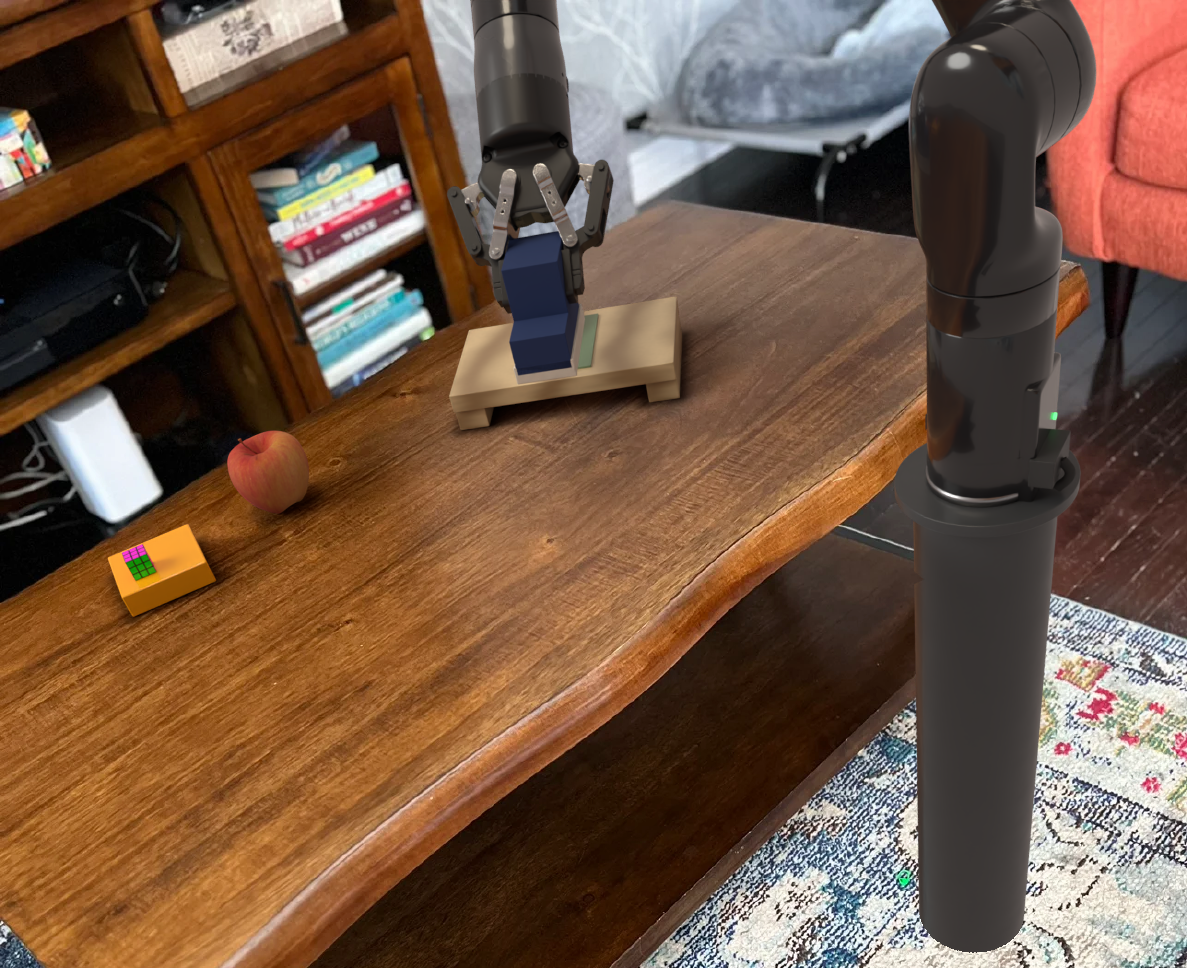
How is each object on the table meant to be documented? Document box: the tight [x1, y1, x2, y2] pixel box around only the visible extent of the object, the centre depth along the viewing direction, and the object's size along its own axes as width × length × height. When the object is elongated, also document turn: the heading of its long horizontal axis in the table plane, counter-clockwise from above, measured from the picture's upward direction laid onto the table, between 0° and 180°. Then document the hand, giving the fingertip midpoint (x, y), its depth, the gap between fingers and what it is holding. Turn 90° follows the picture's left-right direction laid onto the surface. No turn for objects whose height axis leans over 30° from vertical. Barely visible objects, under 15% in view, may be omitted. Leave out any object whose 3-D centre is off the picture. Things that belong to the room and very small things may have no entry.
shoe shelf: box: [448, 296, 683, 431], centre depth 123 cm, size 22×14×4 cm, turn 86°
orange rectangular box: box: [107, 523, 217, 618], centre depth 112 cm, size 8×8×4 cm
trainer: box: [501, 230, 585, 384], centre depth 101 cm, size 10×5×8 cm, turn 176°
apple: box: [227, 430, 310, 515], centre depth 116 cm, size 7×7×8 cm
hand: (540, 304), depth 100 cm, fingers closed on trainer, 4 cm apart
